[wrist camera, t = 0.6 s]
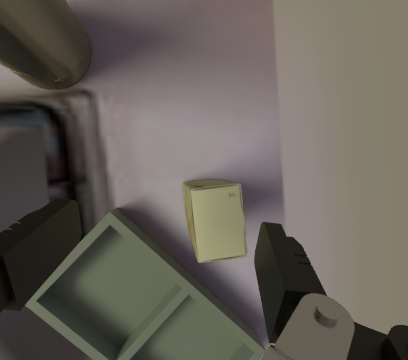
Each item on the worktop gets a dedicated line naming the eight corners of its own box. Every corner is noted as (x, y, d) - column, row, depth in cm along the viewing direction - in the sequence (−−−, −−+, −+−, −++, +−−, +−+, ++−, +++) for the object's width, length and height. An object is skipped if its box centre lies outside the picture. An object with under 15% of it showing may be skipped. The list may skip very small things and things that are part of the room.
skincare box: (181, 181, 31) (188, 184, 18) (214, 178, 31) (241, 179, 19) (187, 231, 31) (196, 265, 19) (219, 226, 31) (249, 257, 19)
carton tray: (39, 287, 28) (21, 302, 25) (116, 207, 30) (109, 211, 26) (189, 409, 31) (192, 438, 28) (255, 332, 32) (265, 351, 29)
